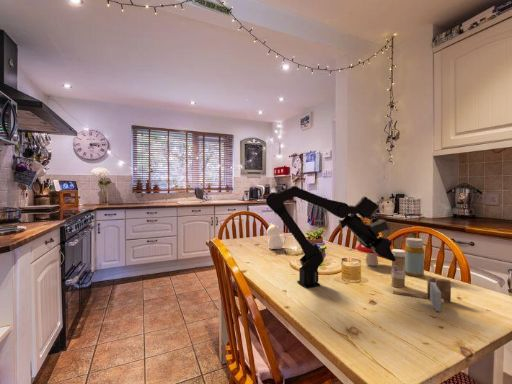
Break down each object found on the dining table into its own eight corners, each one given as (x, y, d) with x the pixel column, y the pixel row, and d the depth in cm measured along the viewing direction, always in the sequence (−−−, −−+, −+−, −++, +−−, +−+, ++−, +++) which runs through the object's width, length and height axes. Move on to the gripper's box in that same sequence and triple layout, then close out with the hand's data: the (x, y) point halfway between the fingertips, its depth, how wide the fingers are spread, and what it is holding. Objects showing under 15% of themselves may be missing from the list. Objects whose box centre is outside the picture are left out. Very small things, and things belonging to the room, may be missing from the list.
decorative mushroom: (395, 269, 113) (396, 236, 113) (367, 271, 111) (367, 237, 111) (376, 260, 127) (376, 230, 127) (350, 261, 125) (350, 231, 125)
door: (430, 298, 83) (430, 282, 83) (437, 300, 82) (438, 283, 82) (435, 310, 75) (436, 292, 75) (444, 312, 74) (444, 293, 74)
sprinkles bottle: (390, 286, 95) (390, 250, 94) (392, 282, 98) (393, 248, 98) (403, 289, 92) (404, 252, 91) (406, 285, 95) (406, 250, 95)
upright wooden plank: (448, 300, 83) (449, 279, 83) (450, 302, 81) (451, 281, 81) (392, 291, 90) (393, 272, 90) (393, 293, 88) (393, 274, 88)
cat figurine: (263, 248, 153) (263, 223, 152) (281, 245, 158) (281, 221, 158) (271, 251, 145) (270, 225, 144) (289, 248, 150) (289, 223, 149)
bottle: (422, 272, 109) (422, 238, 108) (425, 278, 103) (425, 241, 102) (403, 270, 112) (403, 236, 111) (405, 275, 105) (405, 239, 105)
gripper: (385, 215, 85) (419, 247, 85) (364, 210, 104) (392, 236, 104) (361, 238, 86) (395, 271, 86) (345, 229, 104) (372, 255, 104)
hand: (388, 256), depth 95 cm, fingers open, 9 cm apart
